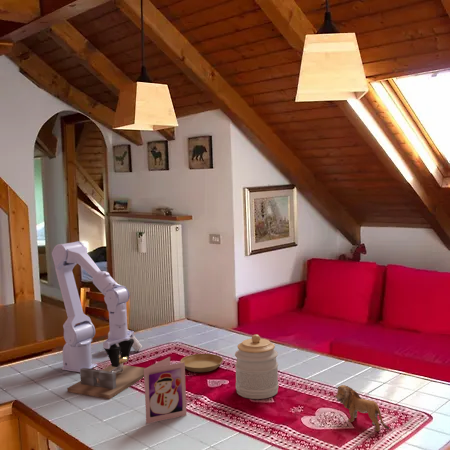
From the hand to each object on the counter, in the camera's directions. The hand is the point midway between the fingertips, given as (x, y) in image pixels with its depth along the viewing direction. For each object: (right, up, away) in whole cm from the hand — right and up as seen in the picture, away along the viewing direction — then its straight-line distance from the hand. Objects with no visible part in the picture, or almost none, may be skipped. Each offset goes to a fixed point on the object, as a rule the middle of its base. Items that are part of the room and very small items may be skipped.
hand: (120, 363), depth 186 cm
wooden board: (-2, -5, -4) cm, 7 cm away
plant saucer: (+27, -4, +8) cm, 28 cm away
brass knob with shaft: (-2, -3, -3) cm, 5 cm away
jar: (+45, -5, -16) cm, 47 cm away
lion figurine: (+70, -6, -39) cm, 80 cm away
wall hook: (-2, -2, +28) cm, 28 cm away
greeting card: (+18, -7, -31) cm, 36 cm away
